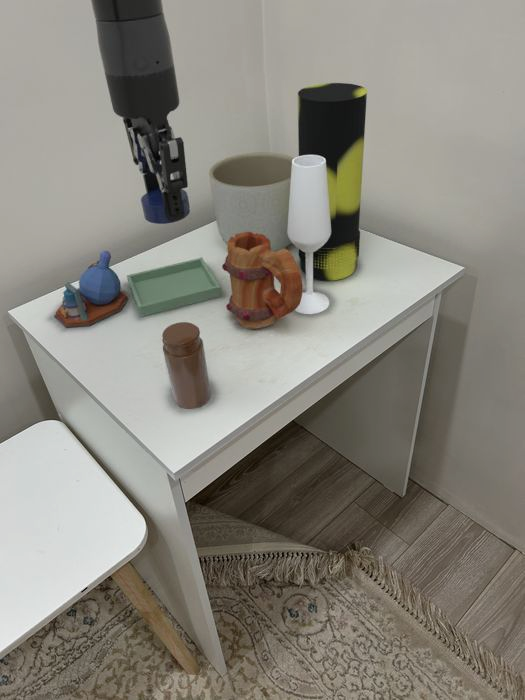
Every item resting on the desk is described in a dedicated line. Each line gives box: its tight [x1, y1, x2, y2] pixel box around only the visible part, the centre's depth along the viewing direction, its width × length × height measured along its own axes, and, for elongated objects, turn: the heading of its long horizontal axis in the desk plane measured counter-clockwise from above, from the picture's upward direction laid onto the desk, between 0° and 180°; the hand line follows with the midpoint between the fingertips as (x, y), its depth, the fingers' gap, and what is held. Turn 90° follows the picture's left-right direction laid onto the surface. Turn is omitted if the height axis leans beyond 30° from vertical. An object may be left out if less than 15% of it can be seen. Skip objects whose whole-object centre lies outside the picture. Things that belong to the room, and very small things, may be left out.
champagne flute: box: [287, 155, 331, 315], centre depth 84 cm, size 7×7×24 cm
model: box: [53, 250, 129, 329], centre depth 91 cm, size 12×9×9 cm
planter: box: [208, 151, 295, 252], centre depth 104 cm, size 17×17×15 cm
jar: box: [161, 321, 212, 410], centre depth 72 cm, size 5×5×11 cm
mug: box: [221, 232, 304, 329], centre depth 82 cm, size 15×8×15 cm, turn 42°
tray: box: [126, 257, 222, 318], centre depth 96 cm, size 14×11×2 cm
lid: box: [140, 188, 191, 225], centre depth 69 cm, size 6×6×2 cm
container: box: [297, 82, 368, 282], centre depth 91 cm, size 11×11×30 cm
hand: (166, 208), depth 70 cm, fingers closed on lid, 5 cm apart
